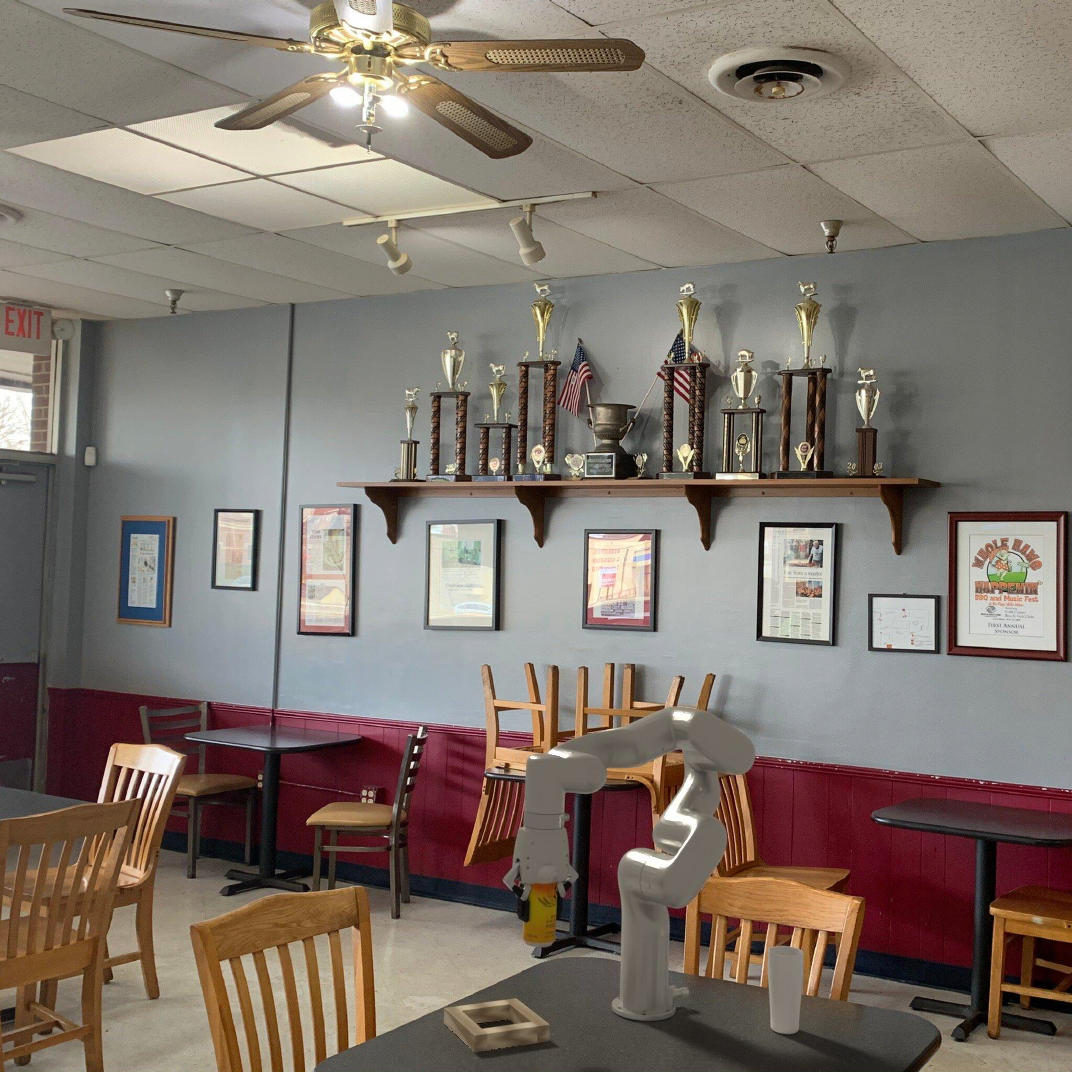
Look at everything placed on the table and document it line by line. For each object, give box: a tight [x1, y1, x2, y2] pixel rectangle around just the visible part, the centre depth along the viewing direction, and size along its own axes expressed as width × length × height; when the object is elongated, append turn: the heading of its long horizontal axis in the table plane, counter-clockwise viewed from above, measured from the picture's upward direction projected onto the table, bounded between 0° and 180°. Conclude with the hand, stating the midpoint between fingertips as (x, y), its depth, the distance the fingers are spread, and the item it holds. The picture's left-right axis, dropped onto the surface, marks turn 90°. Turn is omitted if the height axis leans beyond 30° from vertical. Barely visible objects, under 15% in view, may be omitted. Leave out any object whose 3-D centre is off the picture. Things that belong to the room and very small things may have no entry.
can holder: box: [443, 997, 551, 1053], centre depth 224 cm, size 15×15×3 cm
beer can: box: [522, 864, 558, 948], centre depth 223 cm, size 6×6×15 cm
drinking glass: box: [767, 945, 805, 1035], centre depth 229 cm, size 7×7×15 cm
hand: (539, 918), depth 223 cm, fingers closed on beer can, 6 cm apart
